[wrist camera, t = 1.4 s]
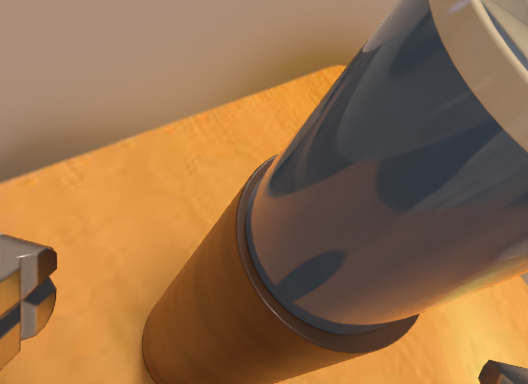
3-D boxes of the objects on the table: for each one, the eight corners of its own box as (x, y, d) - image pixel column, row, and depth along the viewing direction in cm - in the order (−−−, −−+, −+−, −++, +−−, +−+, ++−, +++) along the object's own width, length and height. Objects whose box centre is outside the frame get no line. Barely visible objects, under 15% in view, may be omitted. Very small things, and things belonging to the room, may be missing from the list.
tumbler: (227, 308, 14) (477, 106, 6) (258, 130, 18) (443, -150, 9) (418, 357, 16) (816, 252, 8) (412, 186, 19) (681, -11, 11)
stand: (129, 394, 28) (220, 328, 14) (156, 273, 32) (249, 121, 18) (249, 412, 30) (439, 371, 16) (260, 296, 34) (422, 178, 20)
